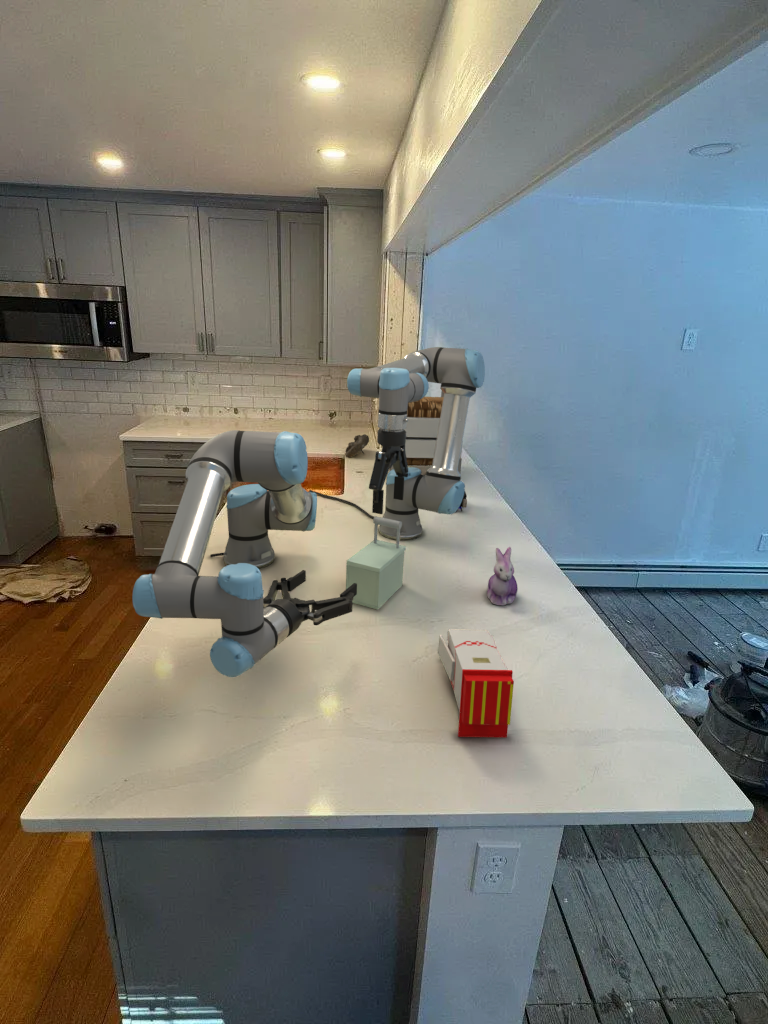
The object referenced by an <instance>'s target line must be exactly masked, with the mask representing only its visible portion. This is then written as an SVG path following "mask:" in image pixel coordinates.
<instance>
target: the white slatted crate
mask: <svg viewBox="0 0 768 1024" xmlns="http://www.w3.org/2000/svg"><path fill="white" fill-rule="evenodd" d="M440 393H441V394H440V396H424V397H423V398H422V399H420V400H418V401H416V402H410V403H408V408H407V419H408V422H407V423H406V429H404V430H405V431H406V443H405V453H406V459H407V465H408V467H410V466H411V467H417V466H418V467H431V466H432V463H433V457H434V451H435V445H436V439H437V433H438V427H439V421H440V415H441V409H442V403H443V397H444V393H443V392H442V391H441V392H440ZM463 442H464V440H463V441H462V444H463ZM462 453H463V445H462V446H461V452H460V458H459V464H458V472H459V473H460V475H461V472H462V461H463V460H462ZM393 469H394V468H393V465H392V467H391V468H390V469H389V472H390V471H391V470H393Z"/></svg>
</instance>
